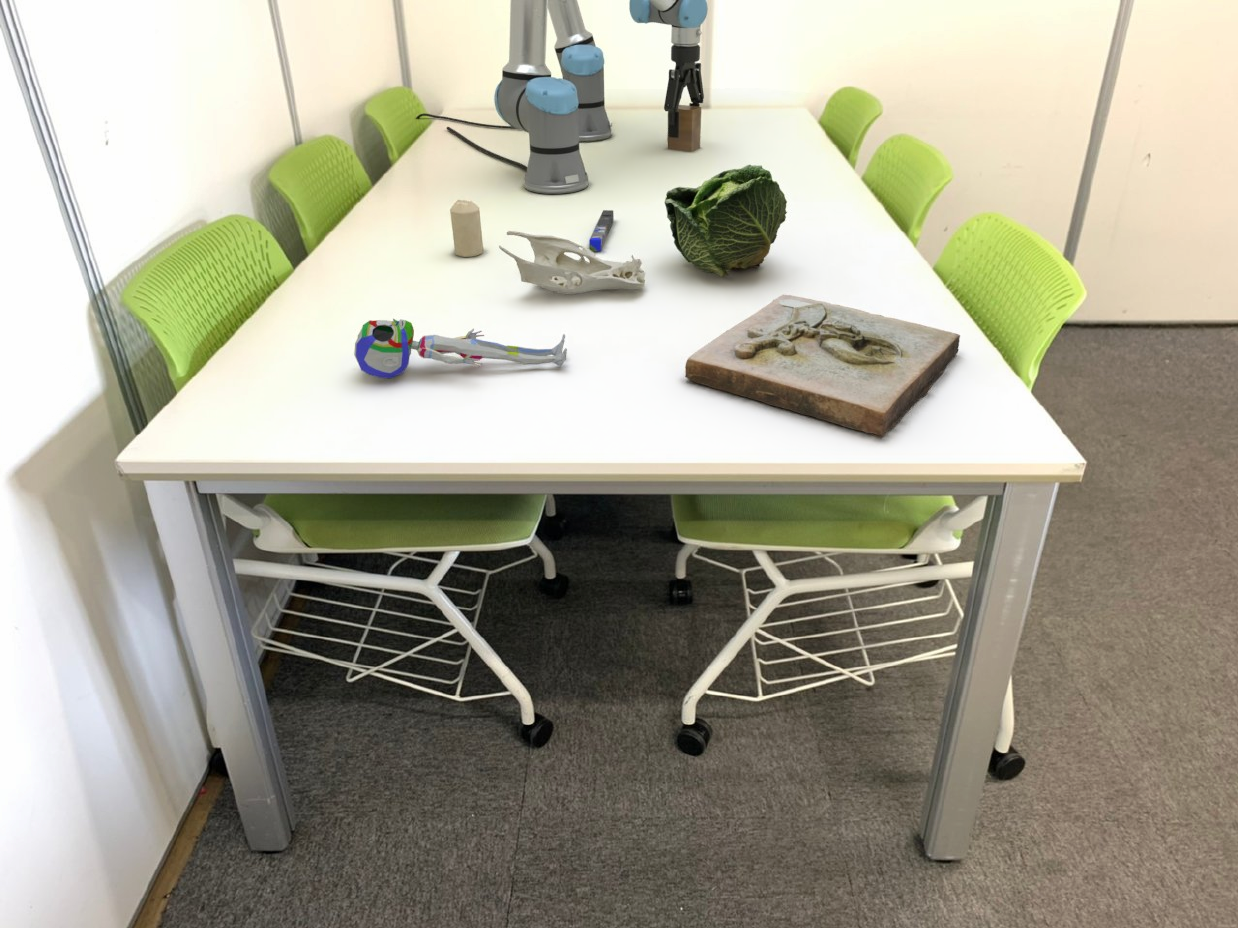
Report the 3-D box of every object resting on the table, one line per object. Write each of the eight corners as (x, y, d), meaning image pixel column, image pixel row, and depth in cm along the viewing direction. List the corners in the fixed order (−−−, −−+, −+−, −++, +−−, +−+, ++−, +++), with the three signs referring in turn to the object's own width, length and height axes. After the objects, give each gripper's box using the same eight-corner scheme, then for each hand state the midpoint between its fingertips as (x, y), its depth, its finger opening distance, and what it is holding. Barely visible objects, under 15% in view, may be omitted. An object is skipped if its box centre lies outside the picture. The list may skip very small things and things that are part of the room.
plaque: (892, 390, 109) (684, 332, 124) (883, 441, 113) (682, 379, 127) (971, 312, 130) (784, 271, 145) (961, 357, 134) (780, 312, 148)
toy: (569, 347, 126) (349, 329, 122) (563, 400, 131) (350, 385, 126) (565, 318, 135) (359, 301, 130) (559, 369, 139) (360, 354, 134)
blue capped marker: (613, 210, 190) (600, 241, 173) (613, 220, 191) (600, 251, 174) (603, 210, 190) (589, 240, 173) (603, 220, 191) (589, 251, 174)
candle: (488, 249, 176) (483, 198, 171) (475, 258, 172) (470, 206, 167) (463, 246, 178) (457, 196, 173) (450, 255, 174) (443, 204, 168)
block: (691, 152, 242) (692, 110, 236) (667, 149, 245) (667, 108, 240) (700, 148, 246) (701, 107, 240) (676, 145, 249) (676, 104, 243)
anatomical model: (512, 224, 162) (649, 224, 158) (517, 273, 167) (650, 274, 163) (490, 252, 149) (637, 253, 146) (496, 304, 154) (639, 306, 151)
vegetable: (694, 294, 173) (643, 202, 166) (775, 239, 175) (728, 145, 167) (734, 307, 155) (678, 205, 147) (824, 245, 156) (773, 141, 149)
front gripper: (677, 51, 221) (675, 143, 233) (718, 39, 238) (715, 126, 250) (650, 49, 225) (650, 140, 237) (693, 38, 242) (691, 123, 253)
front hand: (683, 133), depth 243 cm, fingers open, 11 cm apart
